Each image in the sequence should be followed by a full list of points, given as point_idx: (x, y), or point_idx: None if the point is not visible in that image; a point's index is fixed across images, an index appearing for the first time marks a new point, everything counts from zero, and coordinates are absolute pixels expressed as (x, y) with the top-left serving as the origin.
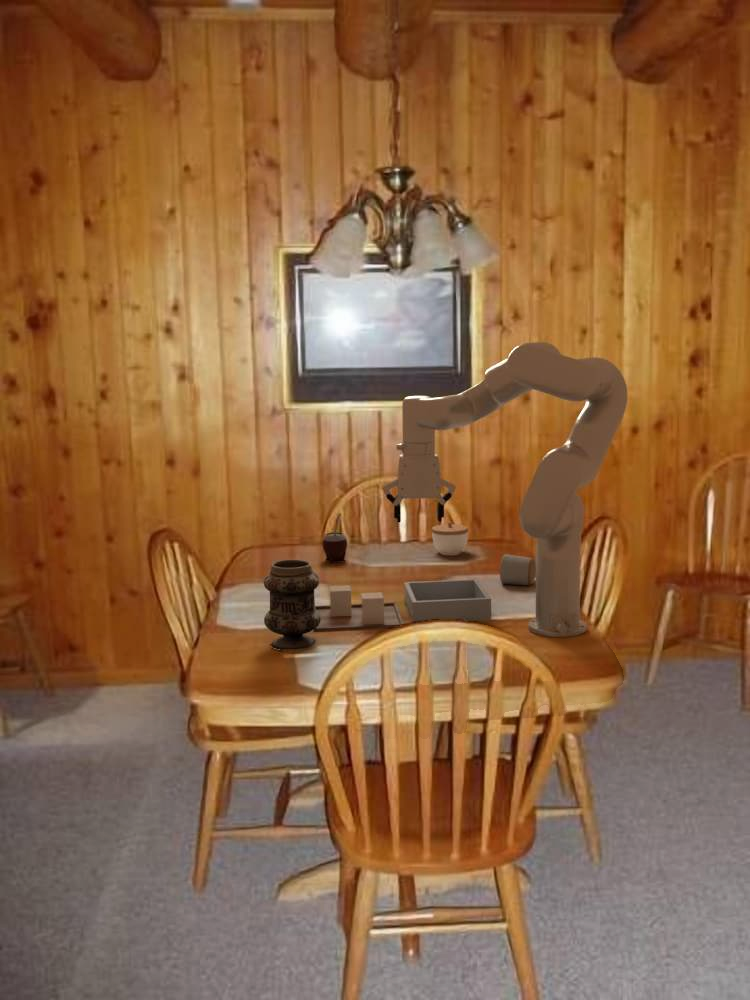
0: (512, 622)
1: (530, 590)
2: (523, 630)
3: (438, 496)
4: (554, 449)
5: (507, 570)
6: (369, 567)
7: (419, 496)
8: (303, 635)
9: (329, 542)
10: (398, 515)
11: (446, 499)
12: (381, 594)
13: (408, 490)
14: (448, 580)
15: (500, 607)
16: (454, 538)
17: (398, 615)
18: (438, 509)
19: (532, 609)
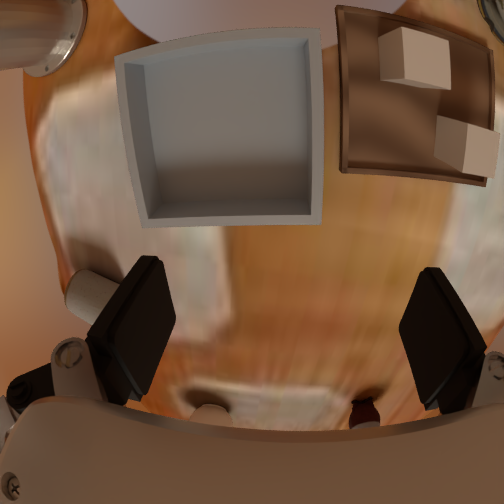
0: (104, 51)
1: (83, 248)
2: (96, 11)
3: (50, 396)
4: None
5: (103, 290)
6: (329, 385)
7: (320, 454)
8: (500, 23)
9: (375, 420)
10: (453, 293)
11: (47, 375)
12: (406, 58)
13: (490, 501)
14: (206, 224)
15: (117, 146)
16: (203, 420)
17: (347, 66)
18: (125, 315)
19: (70, 135)
